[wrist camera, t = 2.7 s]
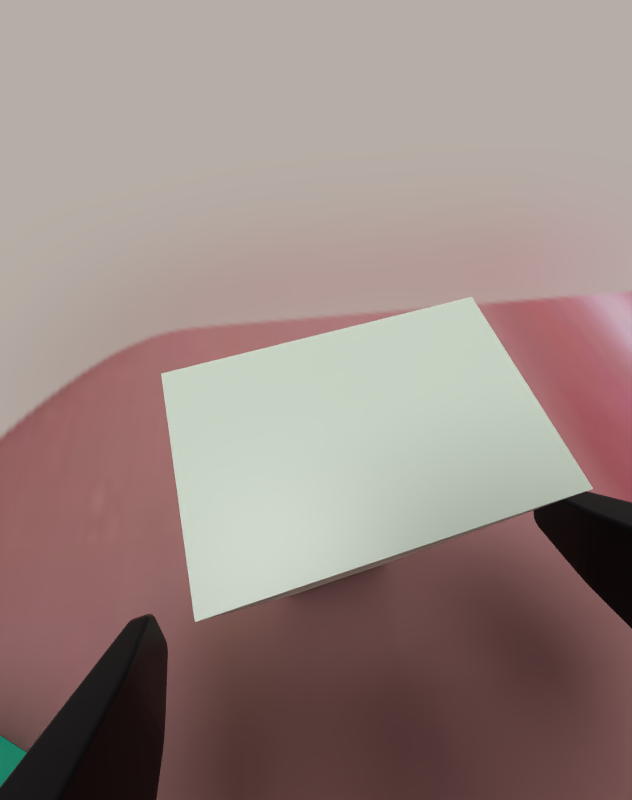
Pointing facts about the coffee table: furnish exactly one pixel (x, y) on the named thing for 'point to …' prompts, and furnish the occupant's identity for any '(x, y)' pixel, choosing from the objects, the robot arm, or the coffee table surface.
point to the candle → (9, 758)
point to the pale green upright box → (353, 453)
